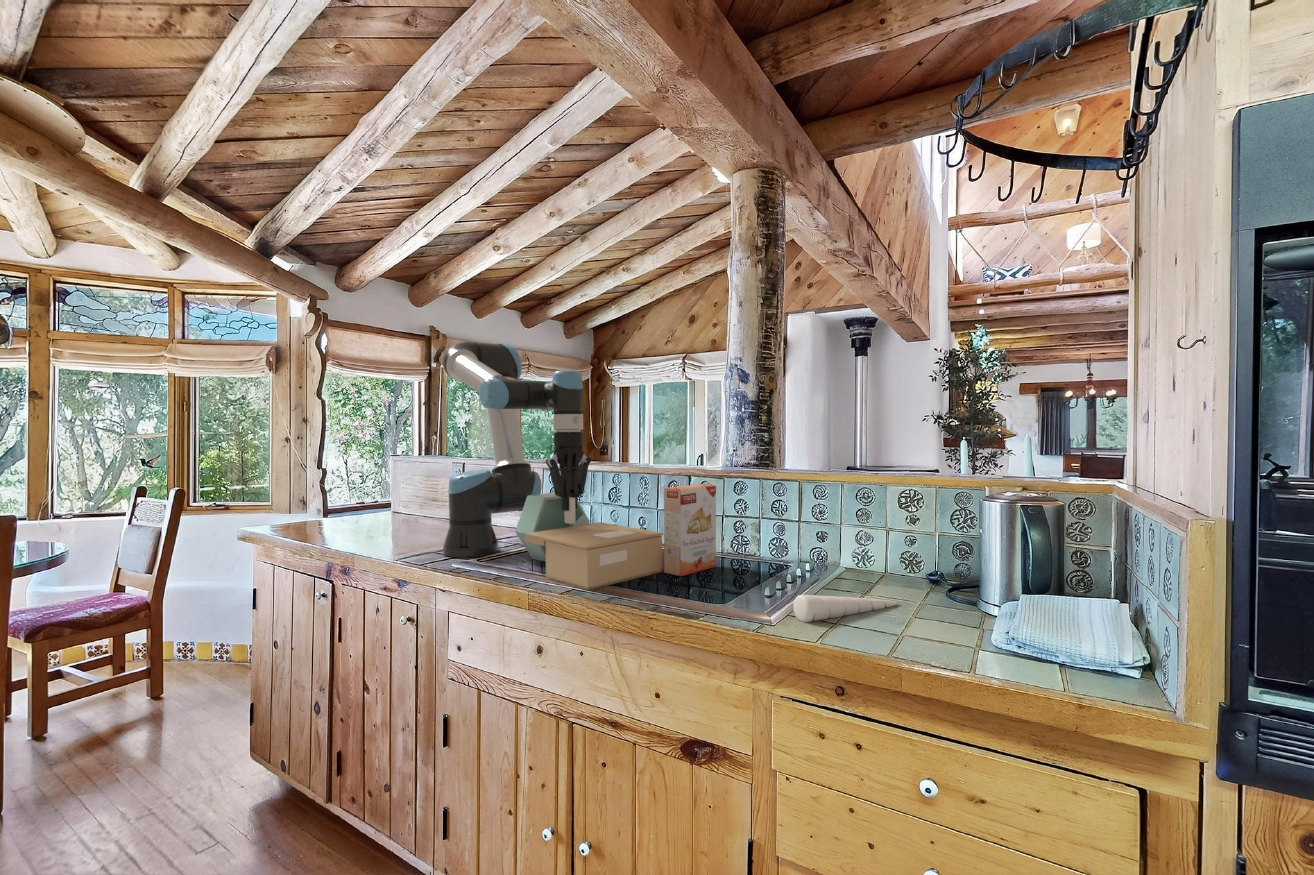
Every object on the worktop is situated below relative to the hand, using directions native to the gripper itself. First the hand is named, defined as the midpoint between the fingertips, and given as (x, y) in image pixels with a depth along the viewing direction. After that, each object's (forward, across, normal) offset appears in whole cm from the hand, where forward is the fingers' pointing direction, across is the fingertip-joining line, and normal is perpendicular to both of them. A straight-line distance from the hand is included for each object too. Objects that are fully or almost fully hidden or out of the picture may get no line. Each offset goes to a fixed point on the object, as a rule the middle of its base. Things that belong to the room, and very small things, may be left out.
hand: (570, 522), depth 154 cm
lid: (+4, 0, -10) cm, 10 cm away
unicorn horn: (+12, +13, -70) cm, 72 cm away
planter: (+11, +2, +11) cm, 16 cm away
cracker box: (+11, +18, -26) cm, 33 cm away
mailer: (+11, 0, -14) cm, 18 cm away
